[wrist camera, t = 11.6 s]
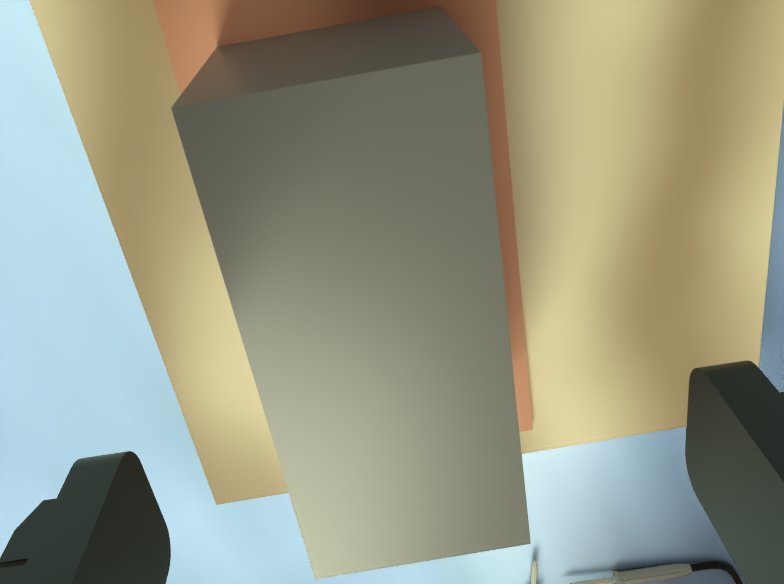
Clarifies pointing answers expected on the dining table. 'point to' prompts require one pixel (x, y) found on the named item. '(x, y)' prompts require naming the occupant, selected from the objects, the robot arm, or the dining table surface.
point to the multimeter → (653, 573)
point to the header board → (512, 190)
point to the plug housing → (367, 281)
